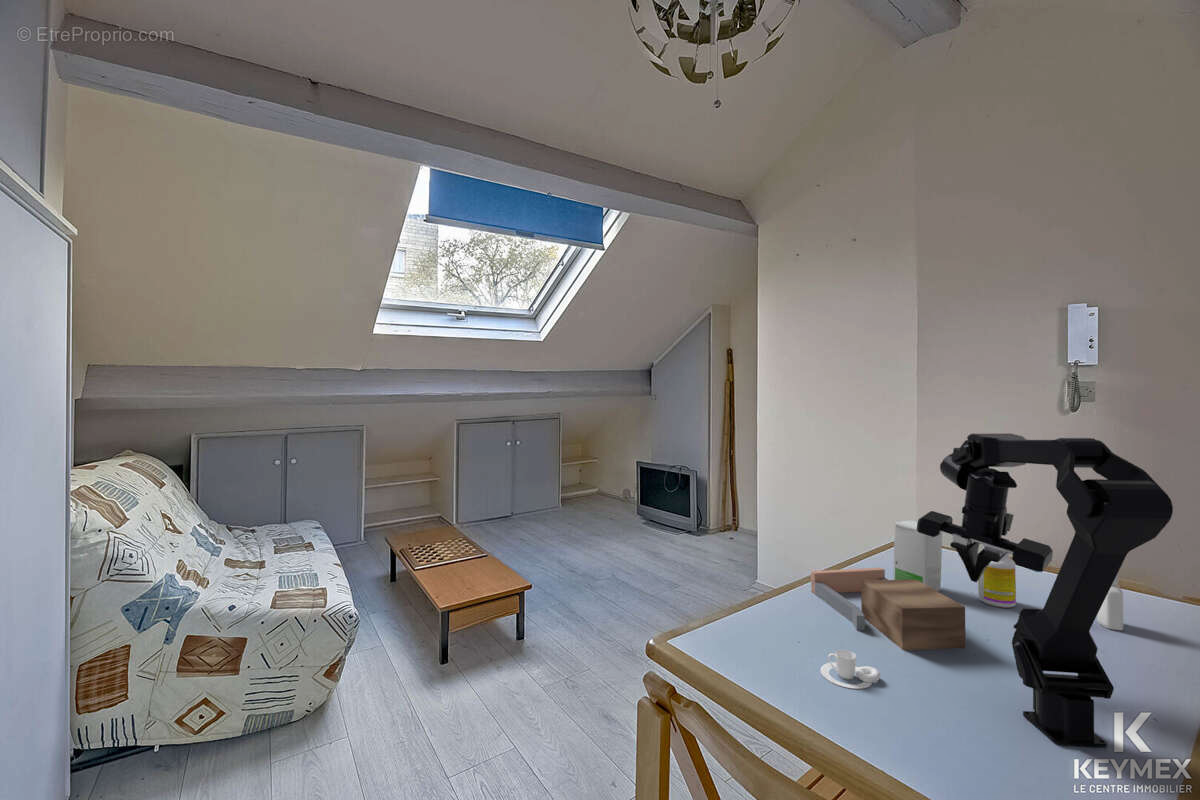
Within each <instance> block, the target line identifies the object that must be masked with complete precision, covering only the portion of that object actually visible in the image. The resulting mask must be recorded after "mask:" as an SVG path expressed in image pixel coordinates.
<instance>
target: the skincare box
mask: <svg viewBox="0 0 1200 800" xmlns="http://www.w3.org/2000/svg"><path fill="white" fill-rule="evenodd" d="M917 522H918V521H916V520H911V519H909V520H908V519H907V520H903V521H897V522H895V523H894V539H893V540H894V542H893V543H894V544H893V545H894V546H893V577H892V578H893V579H892V580H909V579H916V580H918V581H920V582H922V583H924V584H925V585H927V586H929V587H931V588H932V589H934V590H936V591H938V592H941V586H942V585H941V582H942V551H943V546H942V545H943V531H940V534H939V535H937V536H935V537H931V536H928V535H925V534H922V533H919V532H918V531H917Z"/></svg>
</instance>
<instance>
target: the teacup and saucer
mask: <svg viewBox="0 0 1200 800" xmlns="http://www.w3.org/2000/svg"><path fill="white" fill-rule="evenodd" d="M831 656H833V657H834V658H835V661H834V662H833V661H831V659H830V657H831ZM827 659H828V662H827V663H825V664H823V665H822V666H821V667H820V673H821V675H822V676H823V678H825V679H826V680H827V681H828V682H831V683H832V684H834V685H836V686H839V687H842V688H845V689H846V688H847V689H850V690H851V689H852V690H863V689H867V688H869V687H870V686H872V684H873V683H876V682H878V681H879V680H880V679H881V672H880V671H879V670H878V669H876V668H875V667H873V666H868V665H867V666H866V665H864V666H860V667H859V666H857V664H856V663H857V662H856V661H857V655H856V654H855V653H854V652H852V651H851V650H848V649H847V650H846V649H838V650H836V651H835V653H833V652H832V653H829V654H828V657H827ZM832 669H834V671H835V672H836V673H837V674H838V676H839V677H841V678H842V679H844V680H852V679H853V678H854V676H855V675H856V677H857V678H858V679H859V680H860V681H862V682H861V683H858V684H848V683H844V682H842V681H839V680H837V679H835V678H834V677H832V675H830V671H831V670H832Z"/></svg>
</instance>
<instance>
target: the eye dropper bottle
mask: <svg viewBox="0 0 1200 800" xmlns="http://www.w3.org/2000/svg"><path fill="white" fill-rule="evenodd" d="M1096 620H1097V623H1098V624H1099V625H1100V626H1102V627H1104V628H1105V629H1108V630H1113V631H1120V632H1121V631H1123V630H1124V593H1123V590H1122V588H1121V587H1120V586H1119V573H1118V574H1117V576H1116V578H1115V580H1114V582H1113V584H1112V586H1111V588H1110V590H1109V592H1108V594H1107V596H1106V598H1105V600H1104V602H1103V604H1102V606H1101V608H1100V610H1099V612H1098V614H1097V616H1096Z"/></svg>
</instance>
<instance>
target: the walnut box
mask: <svg viewBox="0 0 1200 800" xmlns="http://www.w3.org/2000/svg"><path fill="white" fill-rule="evenodd" d="M860 593H861V595H860V596H861V598H860V599H861V603H860V605H861V608H860V609H861V611H862V613H863V614H864V616H865V622H867V623H868V624H870V625H871V626H873V627H874V628H875V629H876V630H877V631H879V632H880V633H881V634H882V635H883V636H885V637H886V638H887V639H888V640H889V641H891V642H892V643H893V644H894V645H896V646H897V647H898V648H899V649H901V650H902V651H906V650H907V651H909V650H910V651H911V650H912V651H913V650H915V649H918V650H945V649H946V650H948V649H966V606H964V605H962V604H961V603H958V602H957V601H955V600H953V599H952V598H950V597H948V596H946V595H945V594H943V593H942V592H940V591H936V590H934V589H932V588H931V587H929V586H927V585H925V584H924V583H922V582H920V581H918V580H916V579H909V580H893V579H888V580H863V581H861V591H860Z"/></svg>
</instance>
